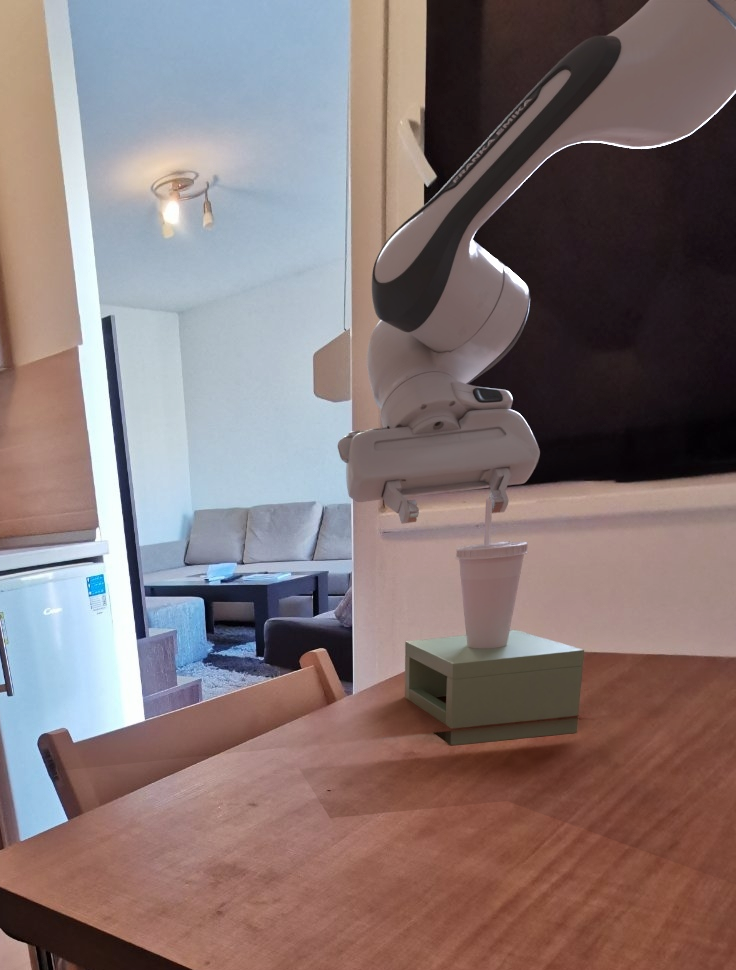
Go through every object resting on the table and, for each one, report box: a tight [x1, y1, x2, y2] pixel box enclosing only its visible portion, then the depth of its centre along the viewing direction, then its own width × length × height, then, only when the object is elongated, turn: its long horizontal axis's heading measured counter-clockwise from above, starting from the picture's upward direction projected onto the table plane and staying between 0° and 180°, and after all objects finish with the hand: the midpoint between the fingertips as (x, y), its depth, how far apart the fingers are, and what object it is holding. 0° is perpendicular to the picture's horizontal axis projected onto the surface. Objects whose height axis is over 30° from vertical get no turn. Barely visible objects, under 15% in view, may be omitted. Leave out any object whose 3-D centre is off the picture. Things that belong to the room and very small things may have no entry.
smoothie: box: [455, 497, 529, 649], centre depth 75 cm, size 6×6×14 cm
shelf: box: [404, 629, 585, 746], centre depth 78 cm, size 12×14×8 cm
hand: (455, 513), depth 82 cm, fingers open, 8 cm apart
